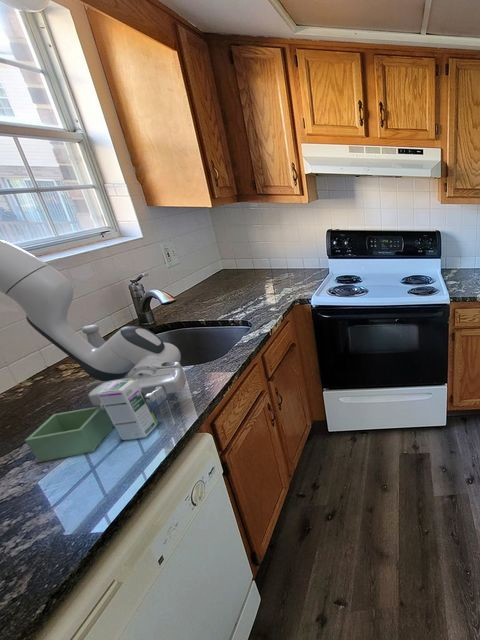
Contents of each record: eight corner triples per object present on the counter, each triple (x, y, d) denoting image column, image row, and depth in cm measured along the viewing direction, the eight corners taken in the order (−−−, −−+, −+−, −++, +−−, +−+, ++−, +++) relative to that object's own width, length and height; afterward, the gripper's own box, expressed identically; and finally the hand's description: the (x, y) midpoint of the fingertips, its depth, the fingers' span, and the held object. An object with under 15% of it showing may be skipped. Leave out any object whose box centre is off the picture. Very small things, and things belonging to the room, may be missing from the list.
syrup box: (146, 437, 93) (123, 389, 87) (120, 440, 92) (95, 392, 86) (159, 424, 98) (138, 377, 92) (135, 426, 97) (112, 380, 91)
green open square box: (93, 451, 89) (81, 429, 86) (38, 462, 86) (24, 440, 83) (114, 425, 98) (103, 405, 95) (65, 434, 95) (53, 414, 92)
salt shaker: (91, 362, 132) (74, 330, 127) (97, 356, 137) (81, 324, 132) (111, 359, 135) (95, 327, 129) (116, 353, 139) (102, 321, 134)
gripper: (99, 374, 99) (70, 401, 87) (185, 361, 105) (168, 385, 93) (109, 393, 102) (82, 422, 90) (192, 379, 108) (177, 405, 96)
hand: (127, 403), depth 92 cm, fingers open, 8 cm apart
